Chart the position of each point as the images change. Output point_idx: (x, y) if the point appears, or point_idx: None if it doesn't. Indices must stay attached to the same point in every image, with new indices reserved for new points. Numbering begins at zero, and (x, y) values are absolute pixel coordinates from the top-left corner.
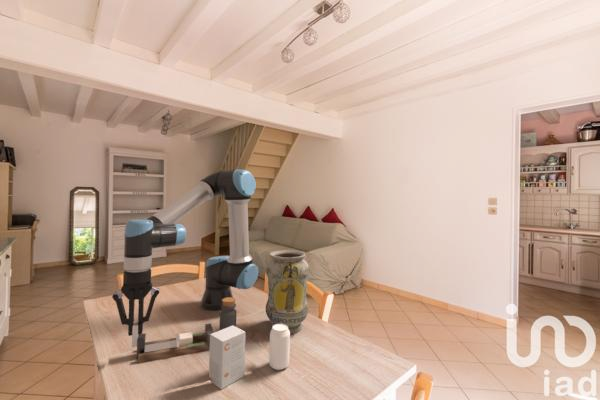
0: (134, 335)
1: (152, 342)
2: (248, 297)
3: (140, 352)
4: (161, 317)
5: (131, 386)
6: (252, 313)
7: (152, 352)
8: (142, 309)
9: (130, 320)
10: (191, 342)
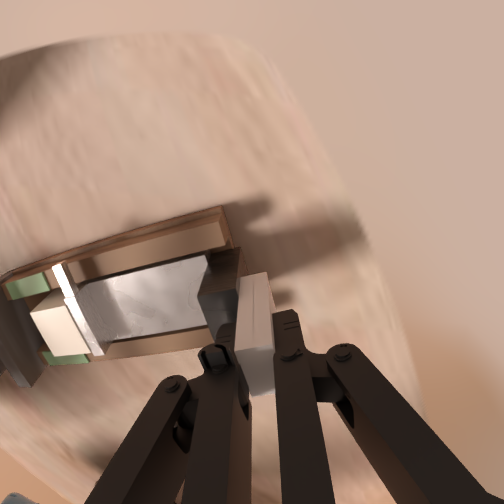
0: (256, 306)
1: (203, 337)
2: (82, 497)
3: (223, 259)
4: (264, 480)
5: (195, 74)
6: (29, 439)
7: (164, 250)
8: (192, 459)
9: (293, 374)
10: (43, 302)
